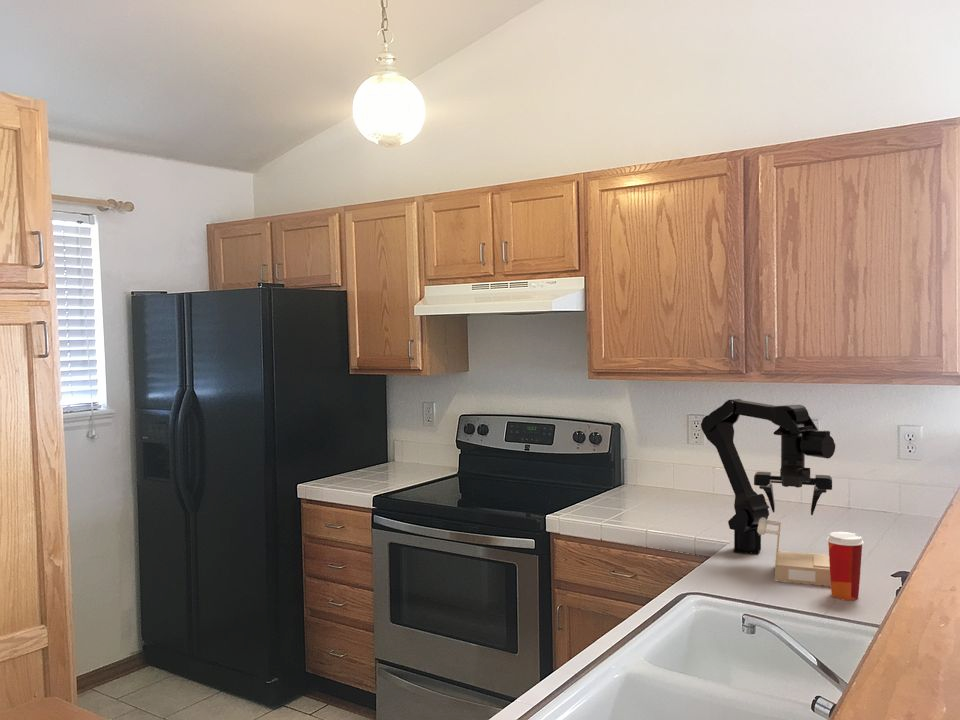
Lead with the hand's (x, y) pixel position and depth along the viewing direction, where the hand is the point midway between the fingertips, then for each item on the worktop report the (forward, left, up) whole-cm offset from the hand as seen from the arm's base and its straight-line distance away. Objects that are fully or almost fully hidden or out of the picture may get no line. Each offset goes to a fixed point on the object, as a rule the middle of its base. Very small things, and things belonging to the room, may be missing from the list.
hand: (792, 513), depth 211 cm
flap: (-3, -11, -5) cm, 12 cm away
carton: (+4, -11, -13) cm, 17 cm away
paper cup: (+11, -24, -13) cm, 29 cm away
